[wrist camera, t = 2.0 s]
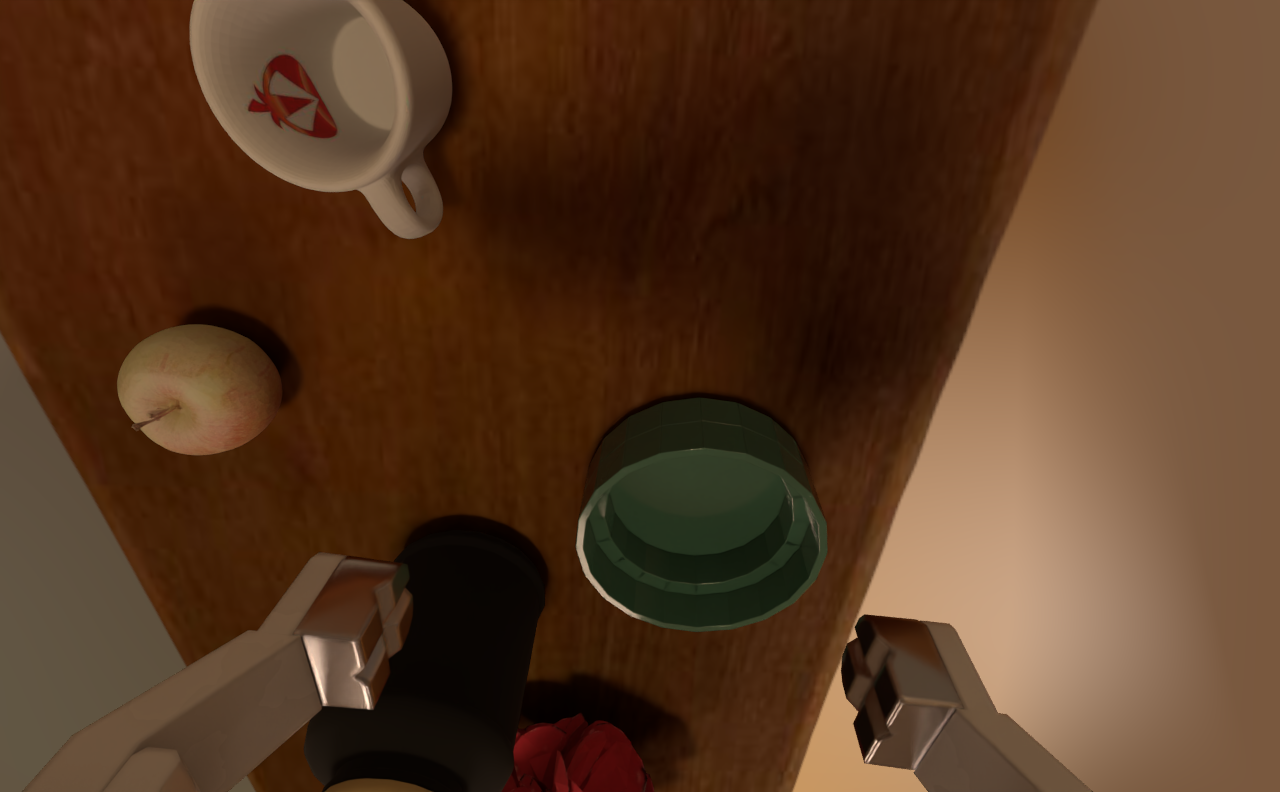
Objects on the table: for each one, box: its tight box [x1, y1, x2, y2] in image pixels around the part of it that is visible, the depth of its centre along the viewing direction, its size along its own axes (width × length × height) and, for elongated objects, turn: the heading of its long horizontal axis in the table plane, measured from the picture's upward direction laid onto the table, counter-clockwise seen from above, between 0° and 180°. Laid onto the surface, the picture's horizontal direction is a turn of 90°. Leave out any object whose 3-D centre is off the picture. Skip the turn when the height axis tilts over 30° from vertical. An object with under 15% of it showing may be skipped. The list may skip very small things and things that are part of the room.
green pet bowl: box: [576, 397, 827, 632], centre depth 37 cm, size 15×15×6 cm
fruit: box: [117, 324, 282, 455], centre depth 33 cm, size 8×7×8 cm
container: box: [304, 530, 545, 792], centre depth 37 cm, size 12×12×18 cm
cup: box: [190, 0, 452, 239], centre depth 25 cm, size 11×8×8 cm
